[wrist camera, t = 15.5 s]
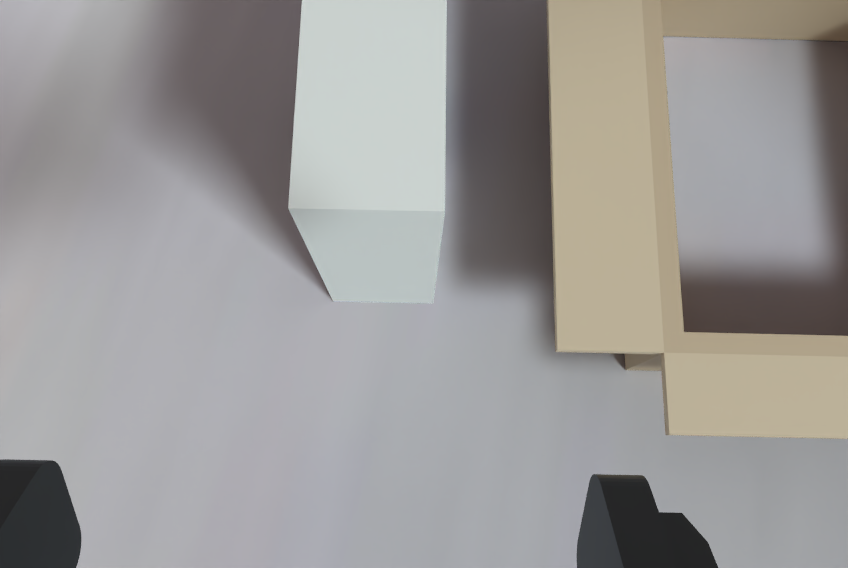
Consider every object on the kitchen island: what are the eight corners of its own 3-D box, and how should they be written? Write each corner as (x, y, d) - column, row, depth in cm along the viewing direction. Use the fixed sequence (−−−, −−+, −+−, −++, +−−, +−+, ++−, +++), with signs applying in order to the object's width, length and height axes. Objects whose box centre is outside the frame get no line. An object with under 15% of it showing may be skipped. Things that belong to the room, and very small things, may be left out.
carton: (955, -21, 37) (1037, -95, 32) (1044, 448, 31) (1161, 445, 26) (527, -33, 37) (545, -109, 32) (536, 437, 31) (559, 432, 26)
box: (436, 83, 35) (447, -108, 23) (433, 303, 32) (444, 211, 20) (343, 81, 35) (309, -111, 23) (333, 301, 32) (288, 208, 20)
